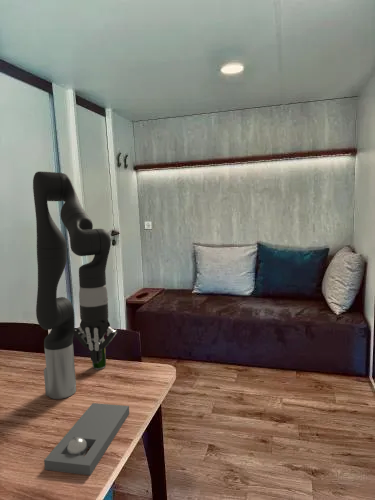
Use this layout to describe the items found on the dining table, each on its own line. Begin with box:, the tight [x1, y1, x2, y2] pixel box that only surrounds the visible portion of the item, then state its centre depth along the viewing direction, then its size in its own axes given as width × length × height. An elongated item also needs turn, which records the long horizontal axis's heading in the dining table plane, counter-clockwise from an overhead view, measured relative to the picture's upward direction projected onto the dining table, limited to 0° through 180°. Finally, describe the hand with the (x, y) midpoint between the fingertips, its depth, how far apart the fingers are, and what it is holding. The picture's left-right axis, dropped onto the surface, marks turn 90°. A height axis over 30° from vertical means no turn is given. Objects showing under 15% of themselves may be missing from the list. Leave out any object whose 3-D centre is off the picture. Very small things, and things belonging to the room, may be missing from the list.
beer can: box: [91, 338, 107, 371], centre depth 143 cm, size 5×5×12 cm
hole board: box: [43, 402, 130, 476], centre depth 98 cm, size 12×26×2 cm, turn 169°
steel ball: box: [67, 437, 88, 456], centre depth 91 cm, size 5×5×5 cm
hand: (96, 361), depth 100 cm, fingers closed
